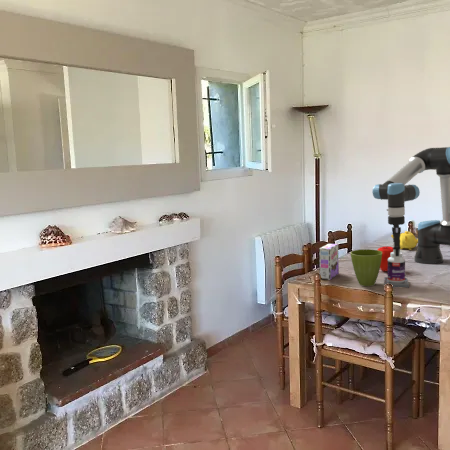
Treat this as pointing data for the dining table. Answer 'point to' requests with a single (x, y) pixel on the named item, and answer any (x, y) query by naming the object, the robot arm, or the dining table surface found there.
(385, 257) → the apple
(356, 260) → the flower pot
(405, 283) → the socket plate
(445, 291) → the dining table surface
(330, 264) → the candy box
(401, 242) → the teapot
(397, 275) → the pill bottle
